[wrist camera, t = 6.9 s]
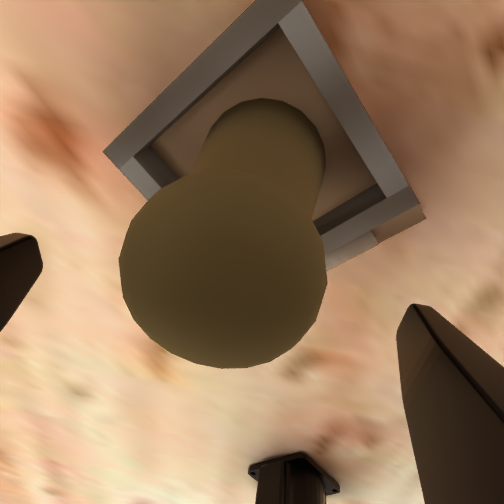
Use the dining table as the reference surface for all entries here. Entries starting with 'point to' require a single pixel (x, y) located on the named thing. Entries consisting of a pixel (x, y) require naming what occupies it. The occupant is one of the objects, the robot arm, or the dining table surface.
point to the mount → (295, 94)
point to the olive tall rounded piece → (233, 243)
